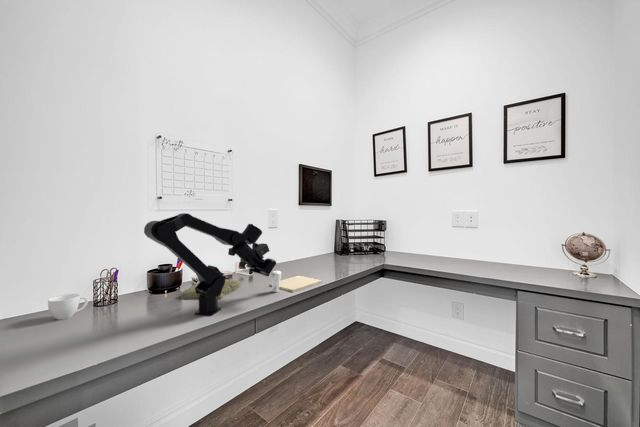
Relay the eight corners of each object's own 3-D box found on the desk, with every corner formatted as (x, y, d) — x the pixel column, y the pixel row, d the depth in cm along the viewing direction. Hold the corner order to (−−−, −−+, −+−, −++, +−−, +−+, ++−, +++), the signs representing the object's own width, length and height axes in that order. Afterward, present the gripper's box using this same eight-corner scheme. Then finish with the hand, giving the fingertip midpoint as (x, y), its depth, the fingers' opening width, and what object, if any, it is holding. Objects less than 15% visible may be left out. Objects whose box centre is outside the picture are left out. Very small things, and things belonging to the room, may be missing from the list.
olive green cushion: (179, 299, 110) (179, 290, 110) (205, 285, 130) (205, 278, 130) (223, 301, 108) (223, 292, 108) (242, 286, 128) (242, 279, 128)
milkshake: (275, 288, 122) (275, 267, 122) (283, 291, 119) (283, 268, 119) (267, 291, 119) (267, 268, 119) (275, 293, 116) (275, 270, 115)
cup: (48, 317, 91) (47, 297, 91) (86, 309, 98) (86, 291, 98) (48, 324, 86) (48, 303, 86) (89, 315, 93) (89, 295, 93)
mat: (293, 292, 118) (293, 289, 118) (269, 285, 128) (269, 283, 128) (322, 282, 133) (322, 280, 133) (299, 277, 143) (298, 275, 143)
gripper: (272, 239, 105) (292, 262, 114) (244, 236, 117) (265, 257, 126) (256, 262, 100) (279, 285, 108) (228, 257, 112) (251, 278, 120)
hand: (268, 275), depth 116 cm, fingers closed
